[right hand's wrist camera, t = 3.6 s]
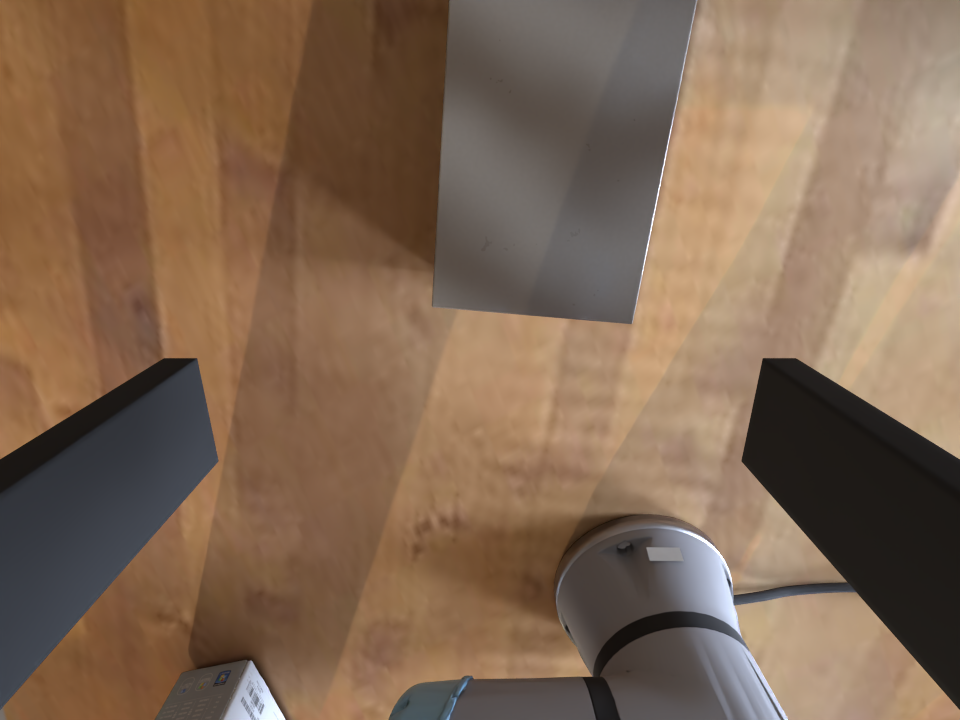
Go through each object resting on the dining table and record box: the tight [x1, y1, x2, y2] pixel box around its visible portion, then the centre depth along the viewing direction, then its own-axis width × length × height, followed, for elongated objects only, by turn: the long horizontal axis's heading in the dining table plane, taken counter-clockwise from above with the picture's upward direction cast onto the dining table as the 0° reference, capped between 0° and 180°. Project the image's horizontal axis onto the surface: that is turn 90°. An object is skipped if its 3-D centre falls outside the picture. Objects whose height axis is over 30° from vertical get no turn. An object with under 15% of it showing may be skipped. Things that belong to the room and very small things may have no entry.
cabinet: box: [432, 0, 697, 324], centre depth 29 cm, size 21×11×9 cm, turn 175°
